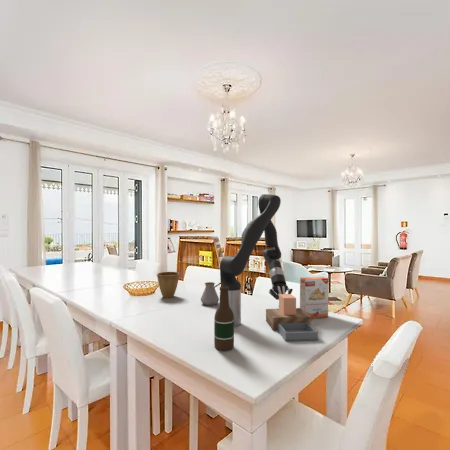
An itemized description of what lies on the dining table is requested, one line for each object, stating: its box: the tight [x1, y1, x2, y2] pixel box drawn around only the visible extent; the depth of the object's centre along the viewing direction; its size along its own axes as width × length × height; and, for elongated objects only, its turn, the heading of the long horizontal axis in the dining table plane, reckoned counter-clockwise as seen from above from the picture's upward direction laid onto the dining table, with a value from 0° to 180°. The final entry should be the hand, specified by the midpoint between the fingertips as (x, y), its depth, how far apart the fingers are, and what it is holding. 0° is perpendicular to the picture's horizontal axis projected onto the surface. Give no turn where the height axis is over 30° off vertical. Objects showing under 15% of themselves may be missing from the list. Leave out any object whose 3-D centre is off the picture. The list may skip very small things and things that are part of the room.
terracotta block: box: [278, 293, 297, 315], centre depth 139 cm, size 6×8×8 cm
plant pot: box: [156, 271, 180, 299], centre depth 195 cm, size 15×15×16 cm
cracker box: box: [299, 276, 330, 320], centre depth 152 cm, size 14×6×21 cm, turn 105°
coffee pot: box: [200, 281, 222, 306], centre depth 180 cm, size 21×12×15 cm, turn 125°
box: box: [277, 323, 319, 342], centre depth 125 cm, size 14×12×4 cm
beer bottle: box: [213, 285, 235, 352], centre depth 113 cm, size 8×8×24 cm
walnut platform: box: [265, 307, 312, 332], centre depth 139 cm, size 18×14×6 cm
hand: (284, 306), depth 144 cm, fingers closed
